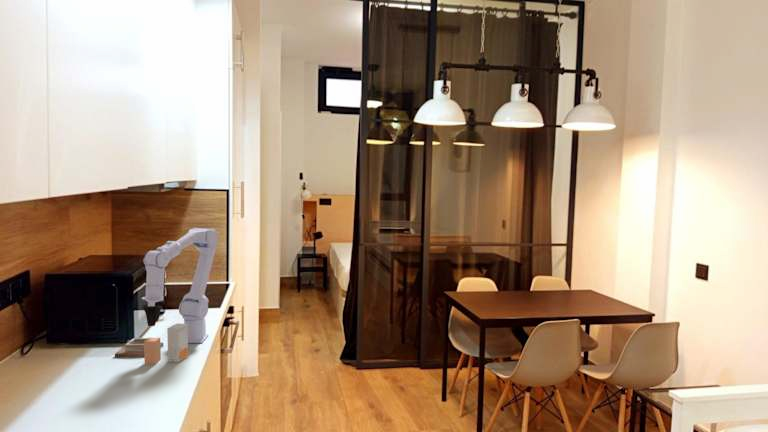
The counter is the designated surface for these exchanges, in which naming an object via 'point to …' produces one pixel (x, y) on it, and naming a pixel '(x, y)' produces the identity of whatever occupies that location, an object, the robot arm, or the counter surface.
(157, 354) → the peg
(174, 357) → the skincare box
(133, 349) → the socket board
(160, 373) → the counter surface
